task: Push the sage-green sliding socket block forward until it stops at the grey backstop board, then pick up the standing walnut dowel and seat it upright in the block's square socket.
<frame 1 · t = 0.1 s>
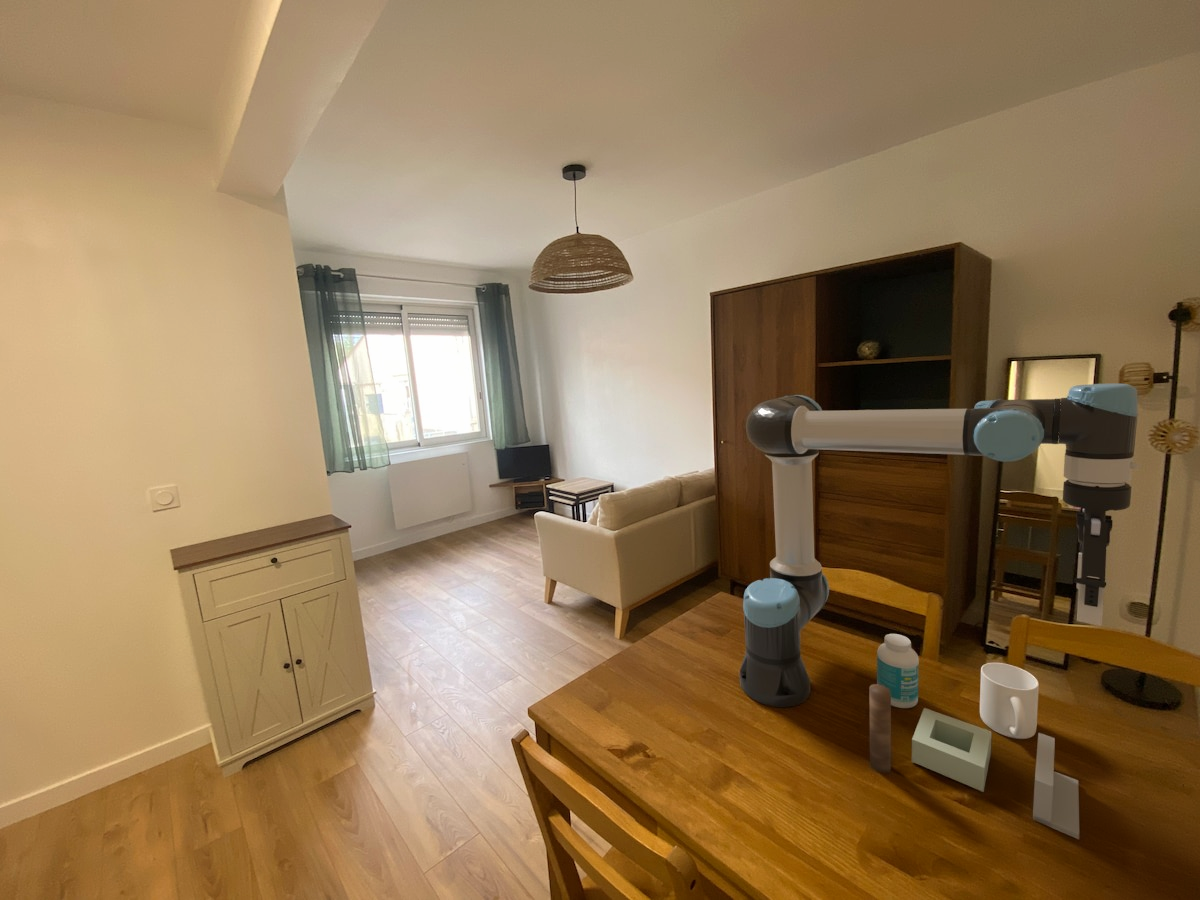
hand: (1088, 605, 79), 28 cm above the table, fingers open, 13 cm apart
dowel: (880, 766, 84), on the table
wall: (1043, 796, 76), on the table
block: (951, 746, 84), point 3 cm above the table, slide at 0.0 cm
pill bottle: (897, 698, 101), on the table
mug: (1009, 732, 89), on the table
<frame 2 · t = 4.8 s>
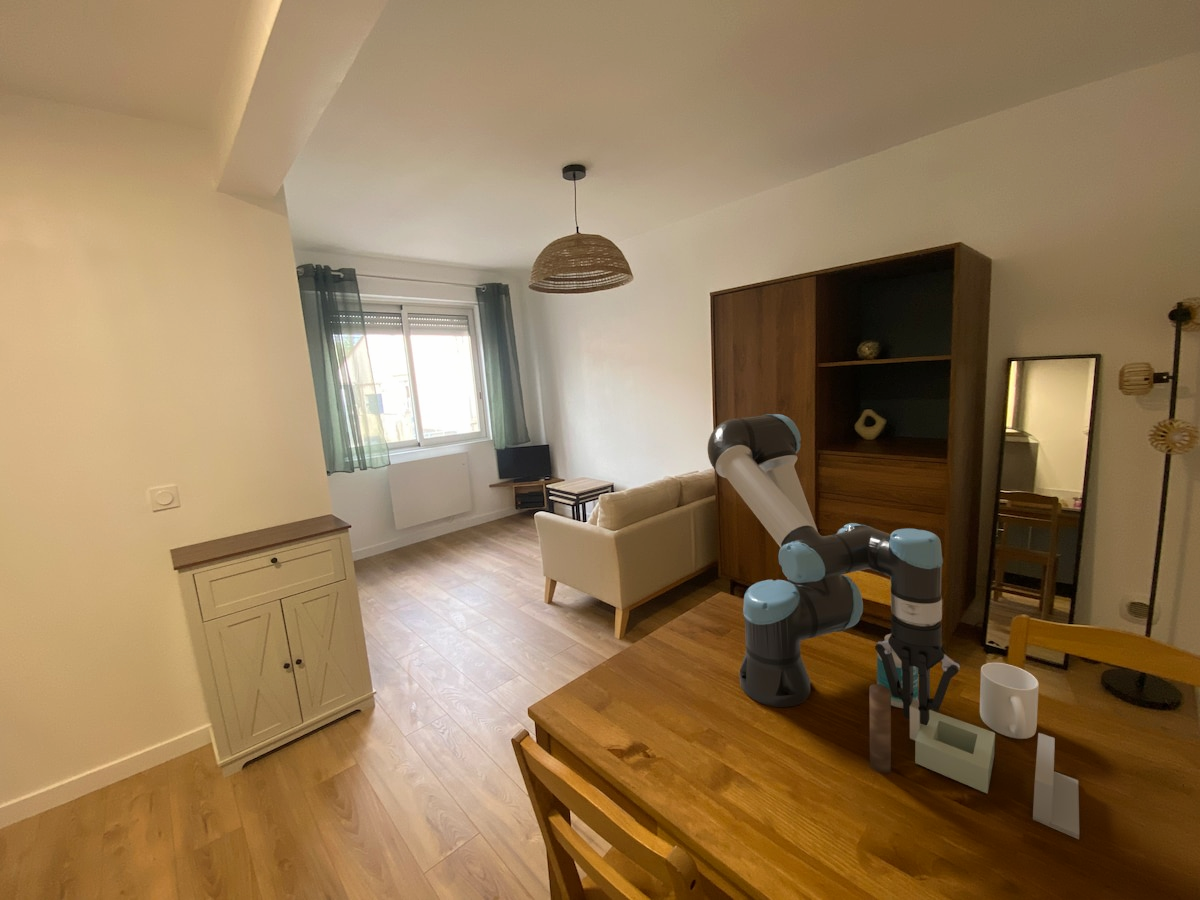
hand: (916, 735, 88), 2 cm above the table, fingers closed
block: (954, 748, 84), point 3 cm above the table, slide at 0.5 cm, touching gripper
everything else where it was.
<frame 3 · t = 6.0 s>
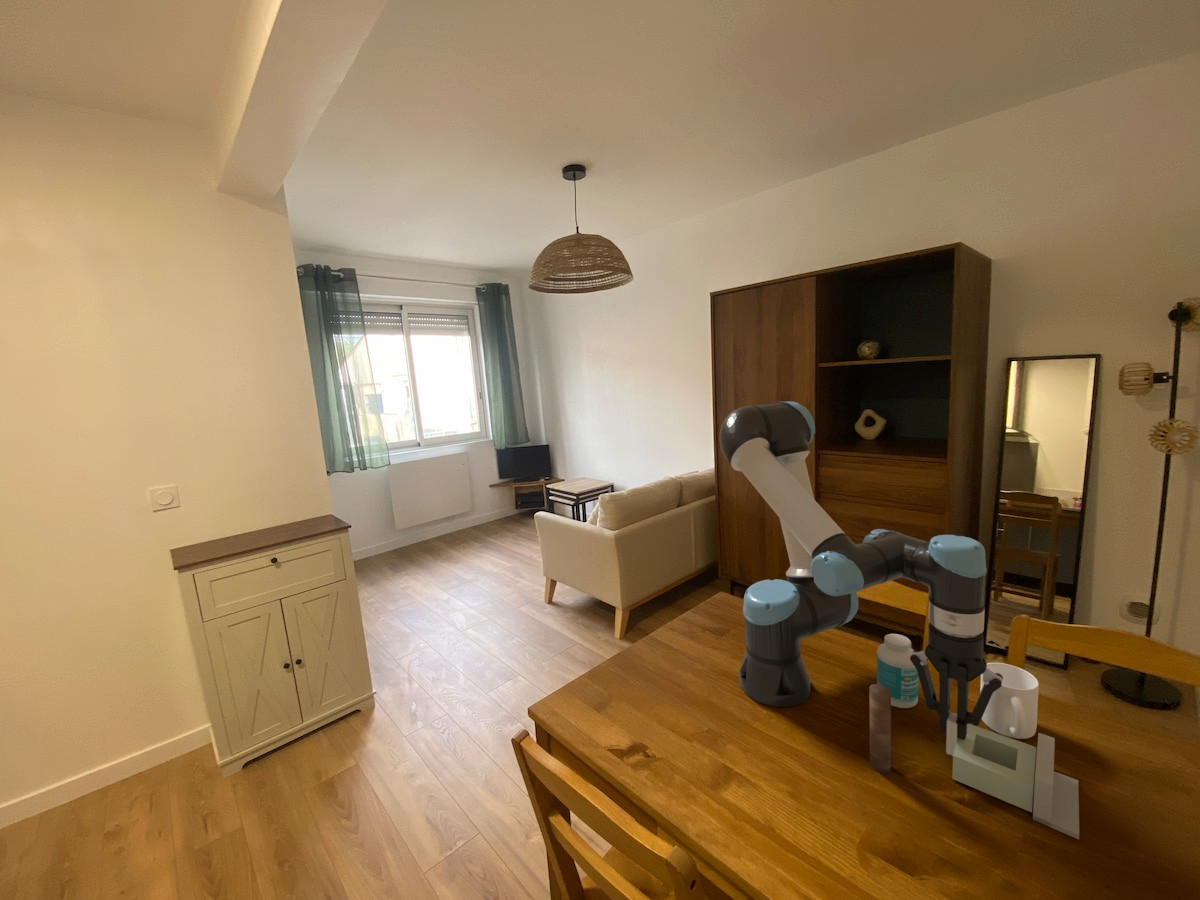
hand: (952, 750, 84), 2 cm above the table, fingers closed
block: (994, 763, 80), point 3 cm above the table, slide at 5.9 cm, touching gripper
everything else where it was.
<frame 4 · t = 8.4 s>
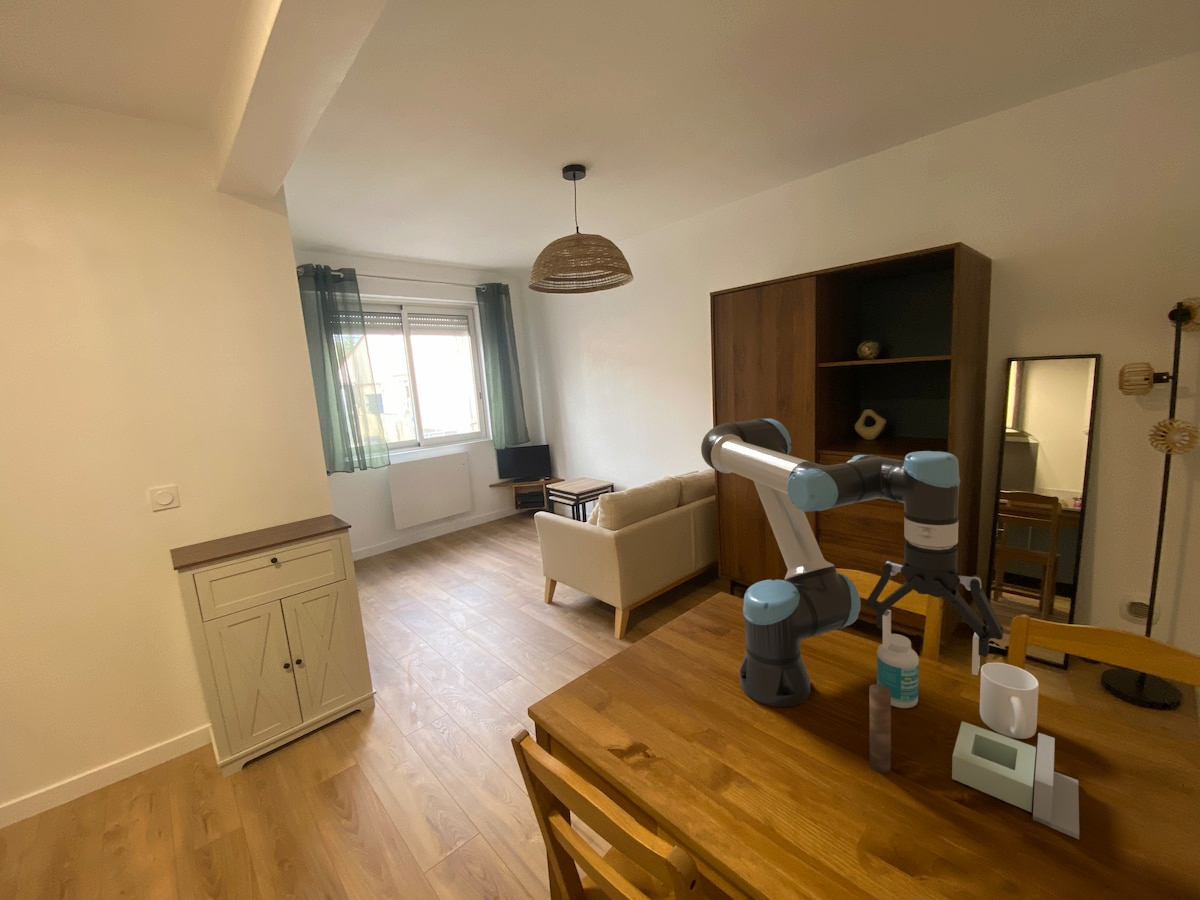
hand: (928, 657, 84), 19 cm above the table, fingers open, 12 cm apart
block: (993, 763, 80), point 3 cm above the table, slide at 5.8 cm
everything else where it was.
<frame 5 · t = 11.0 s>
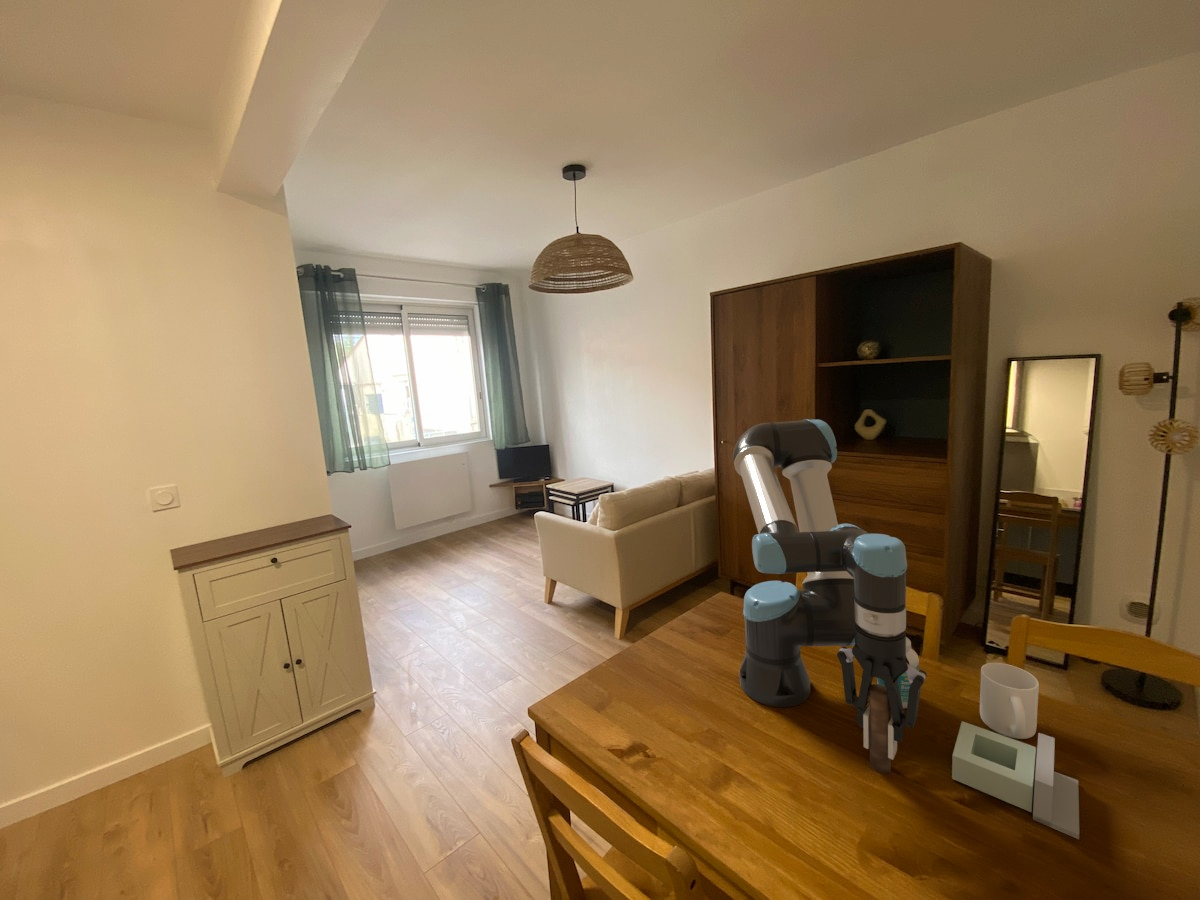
hand: (880, 748, 84), 4 cm above the table, fingers closed on dowel, 3 cm apart
dowel: (880, 766, 84), on the table, touching gripper
everything else where it was.
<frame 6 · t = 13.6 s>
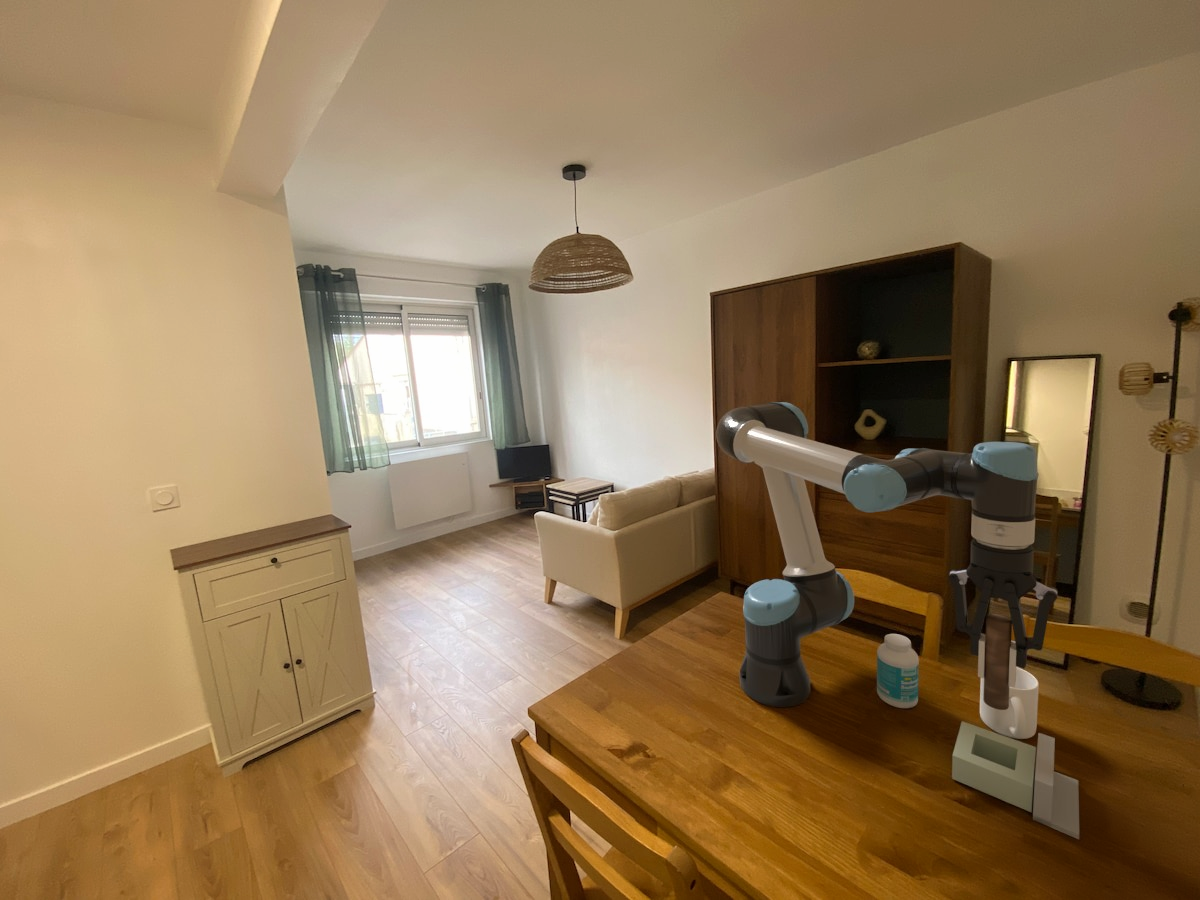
hand: (996, 677, 78), 18 cm above the table, fingers closed on dowel, 3 cm apart
dowel: (995, 703, 78), point 14 cm above the table, touching gripper
everything else where it was.
when the fingers open (7 cm above the table, at t = 16.4 s): dowel drops 2 cm, resting in block.
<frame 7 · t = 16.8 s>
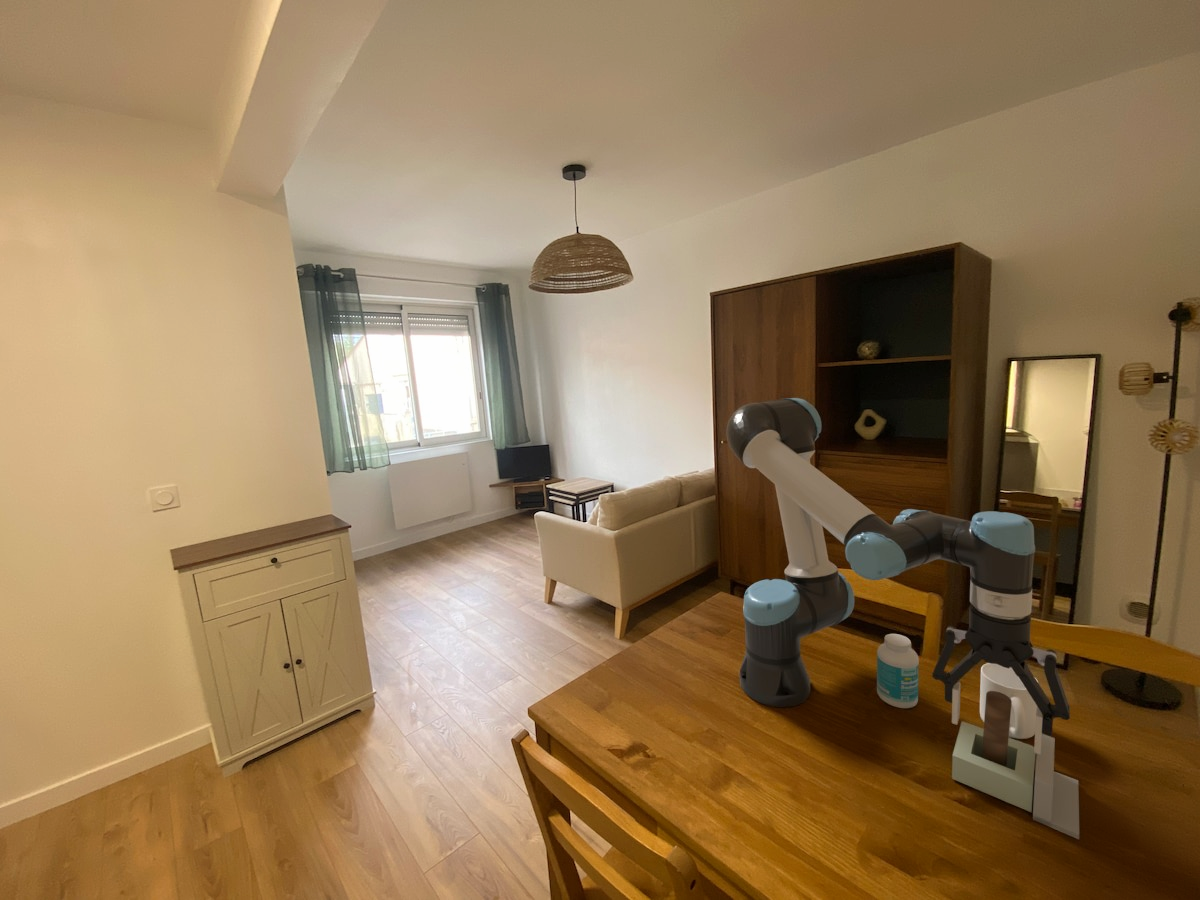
hand: (994, 733, 79), 8 cm above the table, fingers open, 10 cm apart
dowel: (992, 776, 80), resting in block
everything else where it was.
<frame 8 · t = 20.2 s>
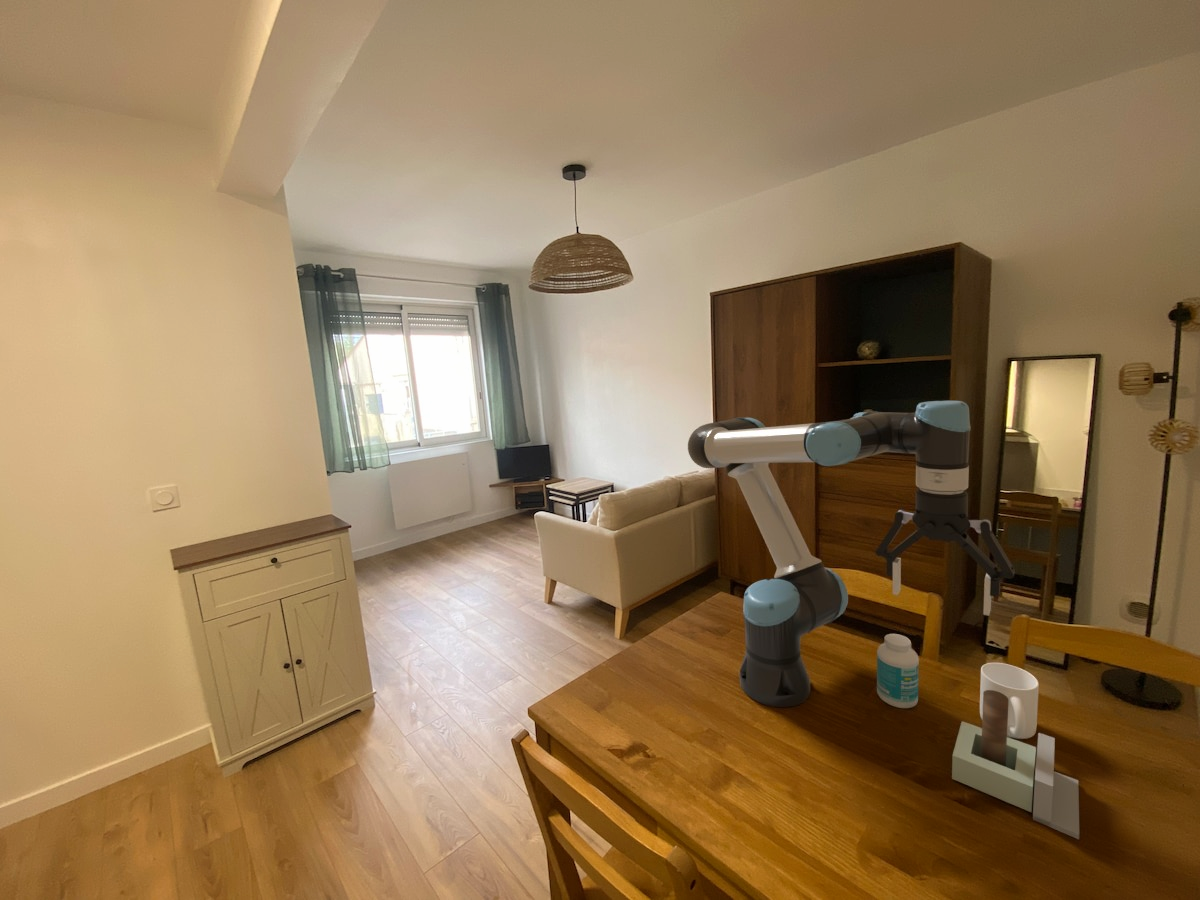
hand: (939, 601, 87), 27 cm above the table, fingers open, 13 cm apart
nothing on the table moved.
at the end: block slide at 5.8 cm; dowel 0.1 cm from the block (horizontally); dowel resting in block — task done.
